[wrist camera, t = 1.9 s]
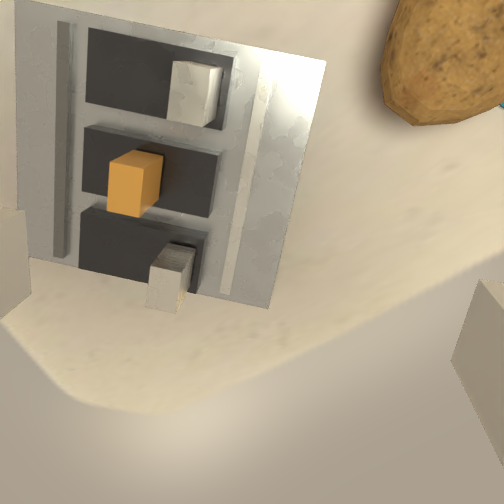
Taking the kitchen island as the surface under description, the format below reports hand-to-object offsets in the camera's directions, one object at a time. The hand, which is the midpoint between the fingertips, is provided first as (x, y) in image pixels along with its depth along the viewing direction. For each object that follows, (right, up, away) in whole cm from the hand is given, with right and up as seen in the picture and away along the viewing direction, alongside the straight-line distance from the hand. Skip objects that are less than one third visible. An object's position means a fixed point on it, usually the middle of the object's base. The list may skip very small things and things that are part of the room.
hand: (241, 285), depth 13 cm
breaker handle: (-7, +6, +17) cm, 19 cm away
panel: (-6, +8, +21) cm, 23 cm away
